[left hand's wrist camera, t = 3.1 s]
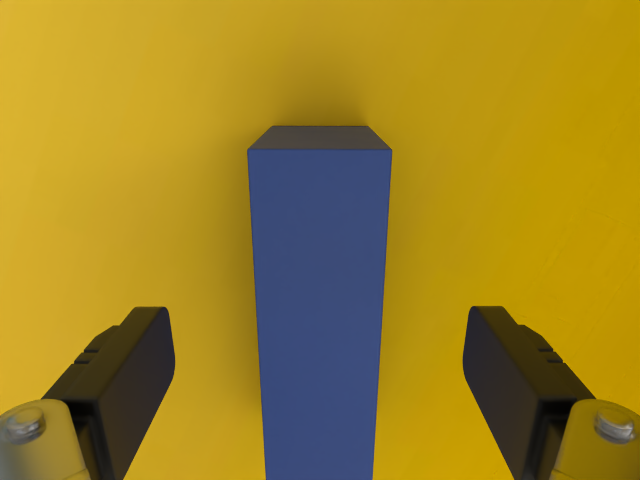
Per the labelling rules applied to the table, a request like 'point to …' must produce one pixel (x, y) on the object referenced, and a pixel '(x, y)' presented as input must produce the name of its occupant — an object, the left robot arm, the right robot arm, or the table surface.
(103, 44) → the table surface
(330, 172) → the long box
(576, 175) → the table surface
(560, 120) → the table surface
